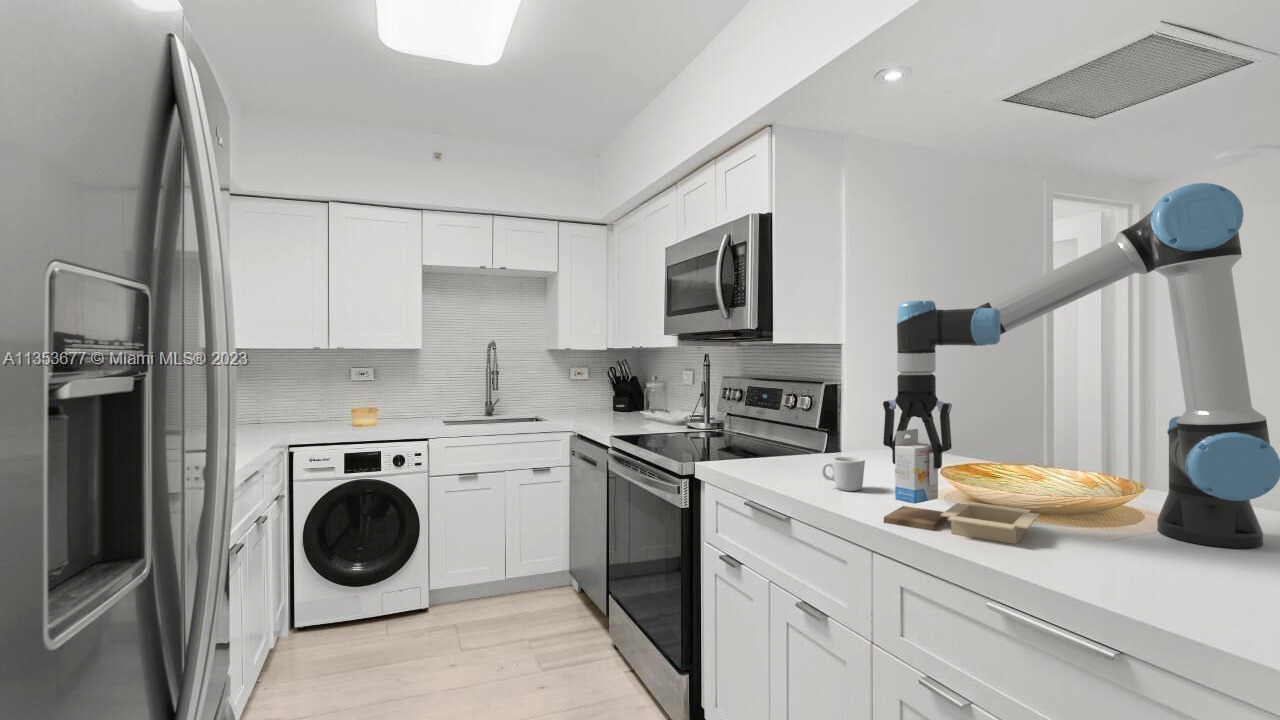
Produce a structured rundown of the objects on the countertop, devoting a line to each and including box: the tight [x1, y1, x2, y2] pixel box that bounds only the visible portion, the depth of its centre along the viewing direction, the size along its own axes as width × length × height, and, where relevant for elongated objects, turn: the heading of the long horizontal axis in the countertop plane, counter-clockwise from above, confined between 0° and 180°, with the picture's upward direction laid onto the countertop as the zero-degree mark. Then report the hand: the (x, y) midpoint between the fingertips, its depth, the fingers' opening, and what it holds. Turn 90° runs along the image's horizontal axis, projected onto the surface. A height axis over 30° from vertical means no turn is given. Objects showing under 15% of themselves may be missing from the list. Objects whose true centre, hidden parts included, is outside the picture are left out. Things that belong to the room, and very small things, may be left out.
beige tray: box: [941, 501, 1041, 545], centre depth 129 cm, size 15×17×4 cm
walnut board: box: [883, 505, 949, 531], centre depth 138 cm, size 10×12×1 cm
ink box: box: [894, 428, 939, 505], centre depth 138 cm, size 8×5×15 cm, turn 124°
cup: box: [821, 456, 866, 492], centre depth 169 cm, size 11×8×8 cm
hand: (916, 481), depth 138 cm, fingers closed on ink box, 6 cm apart
